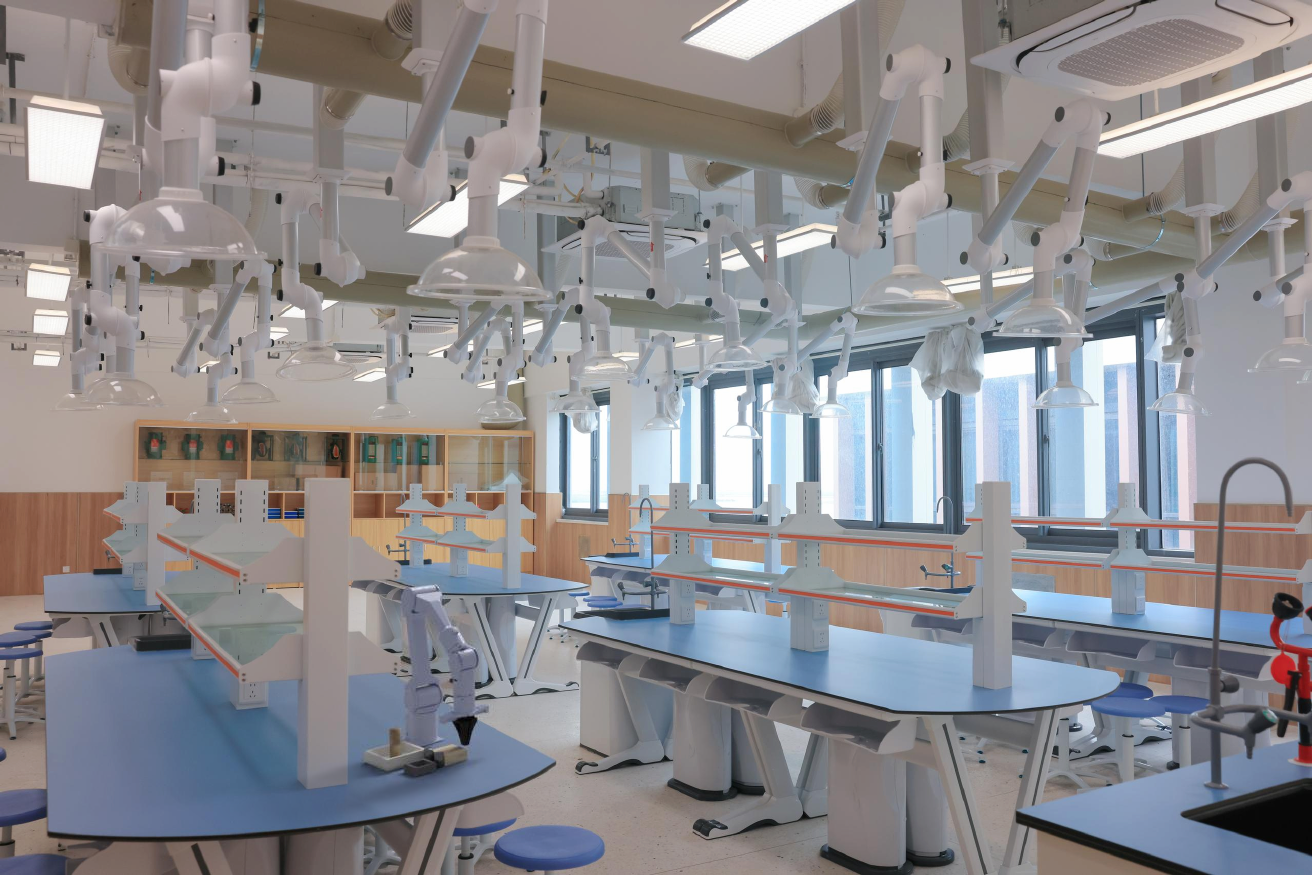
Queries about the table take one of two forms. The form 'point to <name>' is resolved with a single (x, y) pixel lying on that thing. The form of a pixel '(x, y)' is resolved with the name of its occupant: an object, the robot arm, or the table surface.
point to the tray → (383, 761)
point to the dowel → (395, 741)
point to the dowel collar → (420, 767)
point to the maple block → (452, 754)
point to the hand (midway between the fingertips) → (465, 744)
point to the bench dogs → (437, 757)
